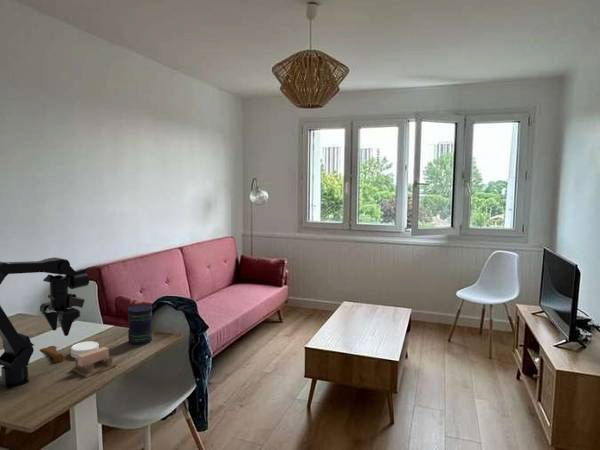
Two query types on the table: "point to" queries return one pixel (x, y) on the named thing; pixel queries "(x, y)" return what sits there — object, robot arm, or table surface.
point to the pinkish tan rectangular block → (93, 356)
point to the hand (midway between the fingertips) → (60, 332)
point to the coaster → (83, 348)
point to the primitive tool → (53, 353)
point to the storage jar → (140, 325)
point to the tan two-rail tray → (93, 367)
